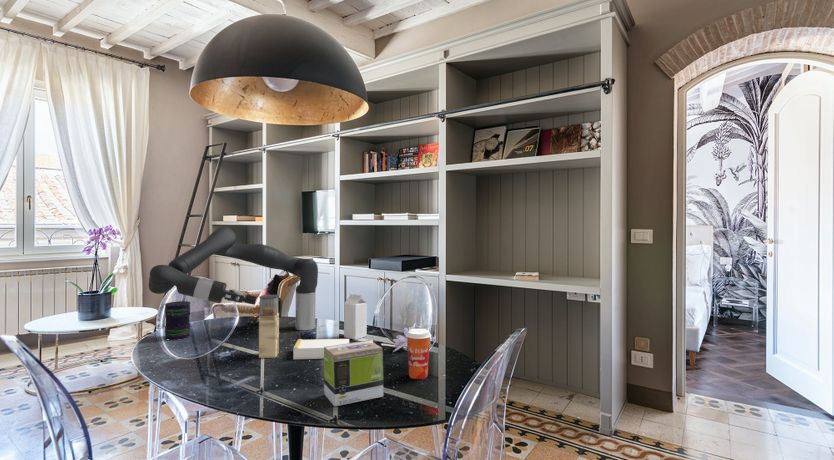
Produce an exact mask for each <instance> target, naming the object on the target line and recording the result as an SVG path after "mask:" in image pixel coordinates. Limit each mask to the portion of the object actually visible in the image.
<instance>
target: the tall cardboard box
mask: <svg viewBox="0 0 834 460" xmlns="http://www.w3.org/2000/svg"><path fill="white" fill-rule="evenodd" d="M259 315H260V314H259ZM259 315H258V316H259ZM258 322H259V324H258V358H259V359H264V358H265V359H267V358H269V359H270V358H276V357H277V356H278V355H279V352H280V351H279V348H280V347H279V346H280V342H279V341H280V339H279V337H280V336H279V335H280V330H279V329H280V318H279V313H276V315H275V316H262V314H261V315H260V316H259V318H258Z"/></svg>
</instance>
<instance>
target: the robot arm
mask: <svg viewBox="0 0 834 460" xmlns="http://www.w3.org/2000/svg"><path fill="white" fill-rule="evenodd" d="M236 240H237V236H236V233H235V232H234V231H233V230H232V228H230V227H225V226H224V227H223V226H220V227H218V228H216V229H215V230H214V231H212V233H210V234H209V236H208V237H207V238H206V239H205V240H203V241H202V242H200V243H198V244H197V245H195V246H194V247H192V248H191V249H188V250H186V251H184V252H183V253H182V254H179V256H177V257H175V258H173V259H172V260H171V261H169V262H168V265H166V264H157V265H154V266H153V267H152V268H151V269H150V270H149V277H148V289H149V291H150V292H151V293H153V294H157V295H161V294H165V293H168V292H169V291H171V290H172V289H173V288H174V287H176V291H177V293H178V294H180V295H182V296H188V297H191V298H196V299H199V300H202V301H207V302H211V303H215V304H221V303H222V301H223V299H224V300H225V301H228V302H235V303H239V304H243V303H244V304H249V305H255V304H256V302H257V299H258V297H257V296H255V295H251V294H247V293H246V292H243V291H239V290H235V289H229V290H228V289H227V286H228V285H227V282H223V281H218V280H214V279H209V278H205V277H197V276H194V275H189V273H191V272H192V271H194V270H195V269H196V268H198V267H199V266H201V265H202V263H204V262H205V261H206V260H208V259H209V258H210V257H212V256H213V255H215V256H216V255H217V256H219V257H220V256H221V257H226V258H230V259H231V258H232V259H236V260H240V261H244V262H247V263H250V264H251V263H252V264H255V265H257V266H261V267H263V268H267V269H273V270H280V271H283V272H284V271H285V272H286V273H289V274H291V275H294V276H296V277H297V278H299V279H300V280H299V284H298V285H296V286H295V330H297V331H310V330H311V331H312V330H314V329H315V328H316V291H317V290H316V289H317V286H318V277H319V267H318V263H317V262H316V261H315V260H314V259H310V258H303V257H296V256H291V255H288V254H286V253H284V252H283V251H281V250H279V249H277V248H275V247H272V246H269V245H266V244H262V243H248V244H247V243H246V244H245V243H244V244H243V243H238V242H237V243H236Z"/></svg>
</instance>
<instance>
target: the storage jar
mask: <svg viewBox="0 0 834 460" xmlns="http://www.w3.org/2000/svg"><path fill="white" fill-rule="evenodd" d="M190 315H191V302H190V301H185V300H184V301H171V302H166V303H165V304H164V318H165V326H164V336H165V337H164V340H166V339H169V340H168V341H179V340H178V339H181V340H185V339H184V338H186V339H188V338H187V337H189V336H190V337H191V323H190ZM190 337H189V338H190Z"/></svg>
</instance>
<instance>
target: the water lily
mask: <svg viewBox="0 0 834 460" xmlns="http://www.w3.org/2000/svg"><path fill="white" fill-rule="evenodd" d="M411 329H416V322H414V323H413V325H411V326H409V327H408V328H407V327H404V329H403V335H401V334H399V335H396V336H395V337H396V339H393V342H395V343H394V344H393V345H394V346H393V348H395V349H394V350H393V351H392V353H395V352H396V351H398V350H400V349H401V348H402V347H404V346H405V345H407V336H406V334H407V333H408V331H409V330H411Z"/></svg>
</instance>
